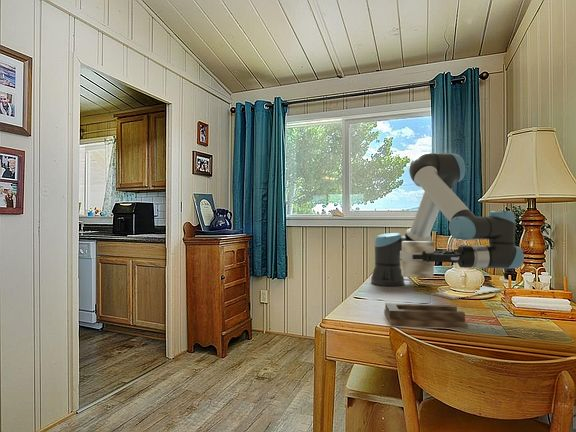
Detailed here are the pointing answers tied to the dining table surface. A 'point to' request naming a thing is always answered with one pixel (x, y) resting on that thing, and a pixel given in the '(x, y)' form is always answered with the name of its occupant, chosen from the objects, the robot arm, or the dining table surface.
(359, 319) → the dining table surface
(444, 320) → the groove board
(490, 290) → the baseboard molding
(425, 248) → the pale grey rectangular block
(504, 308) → the dining table surface
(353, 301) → the dining table surface
